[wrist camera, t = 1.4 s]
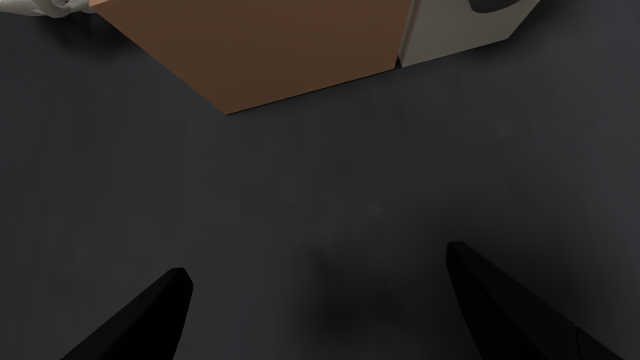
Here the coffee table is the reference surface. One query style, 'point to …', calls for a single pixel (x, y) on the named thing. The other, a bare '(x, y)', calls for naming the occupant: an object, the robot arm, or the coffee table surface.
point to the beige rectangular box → (458, 26)
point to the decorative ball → (45, 7)
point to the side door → (262, 43)
